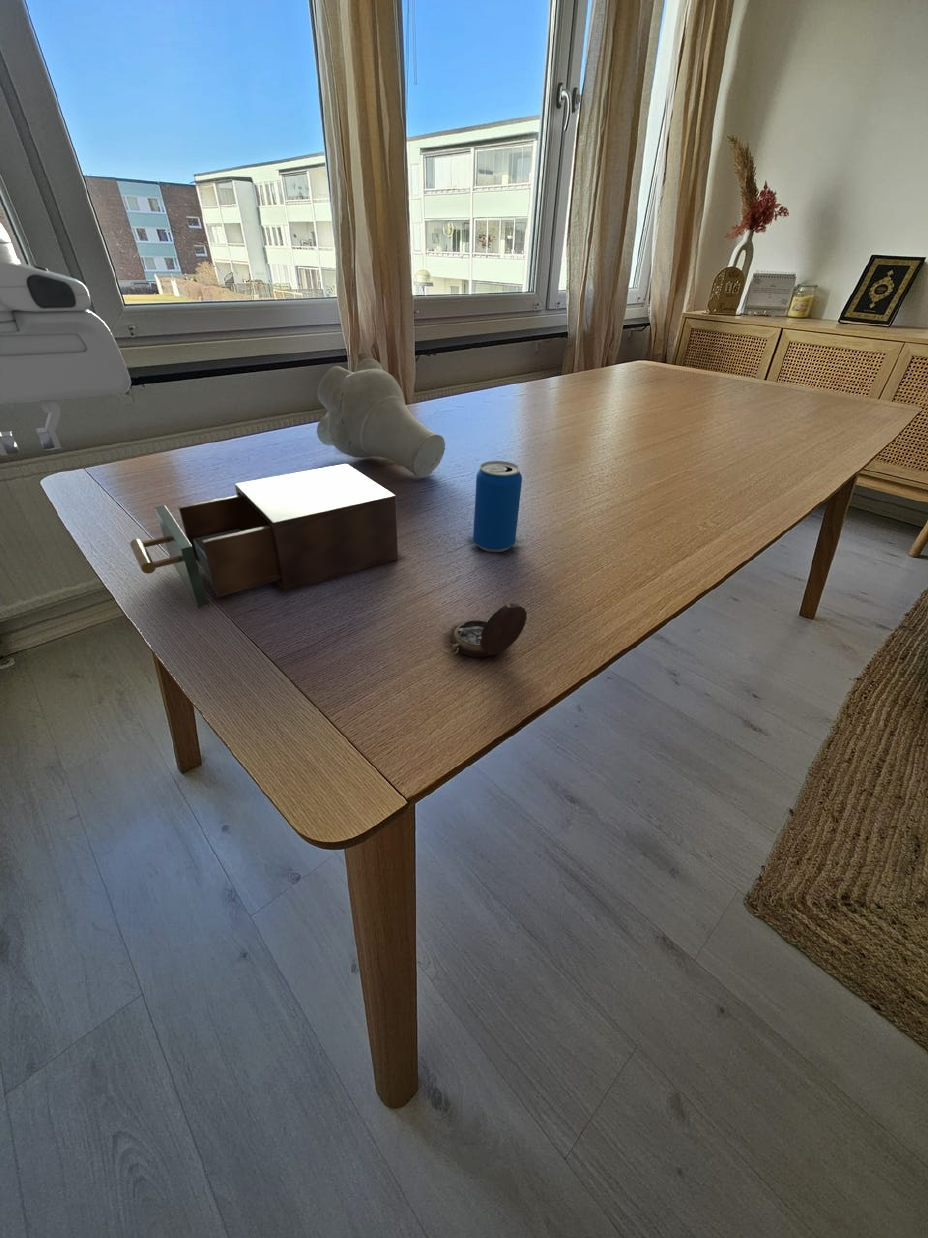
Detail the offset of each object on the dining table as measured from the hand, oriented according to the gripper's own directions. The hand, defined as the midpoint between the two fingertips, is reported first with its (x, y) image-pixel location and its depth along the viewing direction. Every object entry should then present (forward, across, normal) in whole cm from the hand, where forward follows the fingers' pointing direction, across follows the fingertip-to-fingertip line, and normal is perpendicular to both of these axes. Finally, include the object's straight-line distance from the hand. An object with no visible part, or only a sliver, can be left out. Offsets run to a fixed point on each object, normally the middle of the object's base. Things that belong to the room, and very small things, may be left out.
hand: (31, 450), depth 52 cm
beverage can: (+19, +51, -11) cm, 56 cm away
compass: (+19, +33, -30) cm, 49 cm away
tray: (+17, +16, 0) cm, 23 cm away
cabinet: (+19, +28, 0) cm, 34 cm away
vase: (+19, +54, +27) cm, 63 cm away
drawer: (+18, +15, 0) cm, 24 cm away
